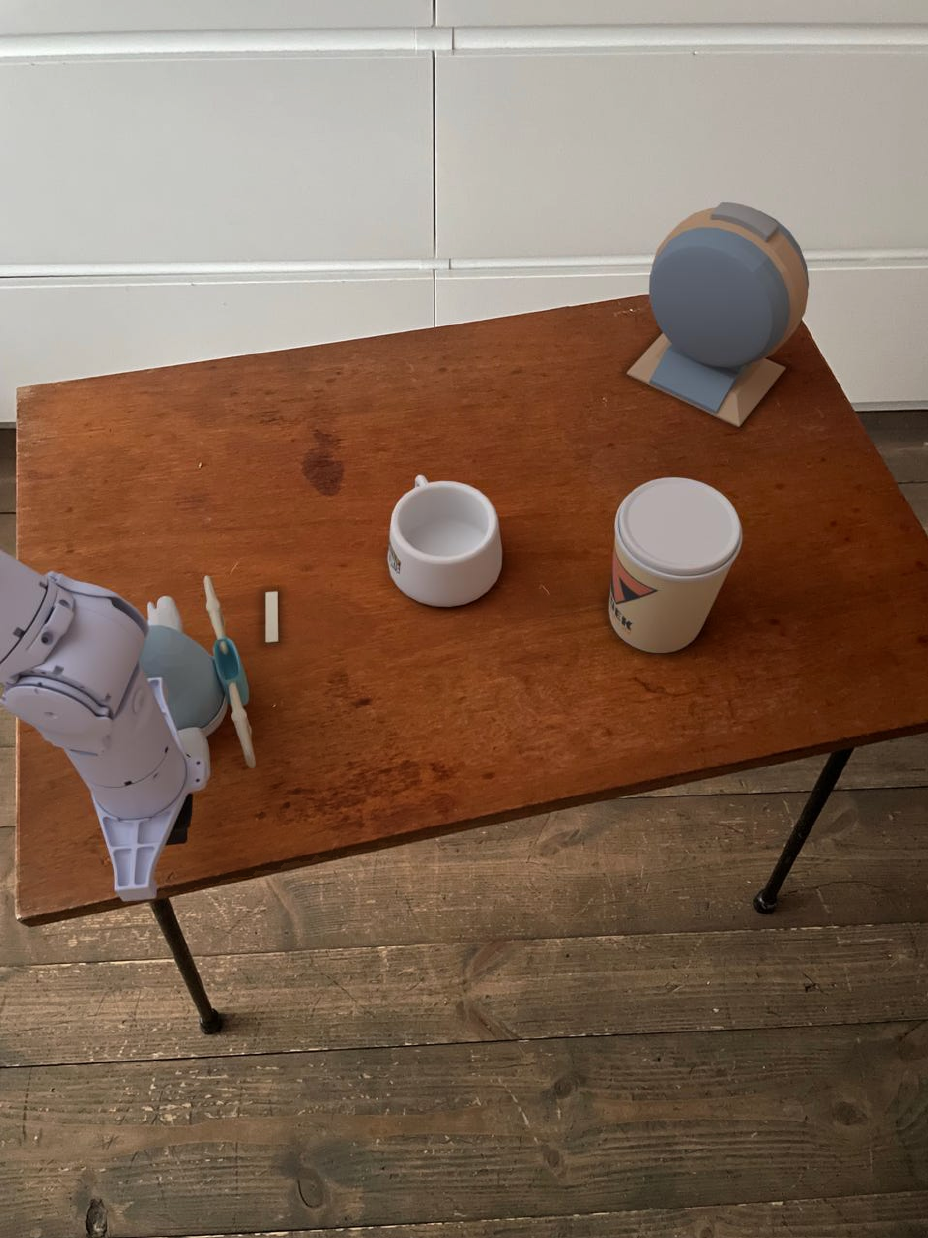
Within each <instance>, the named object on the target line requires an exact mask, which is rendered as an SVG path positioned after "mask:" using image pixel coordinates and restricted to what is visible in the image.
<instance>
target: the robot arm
mask: <svg viewBox="0 0 928 1238" xmlns="http://www.w3.org/2000/svg"><path fill="white" fill-rule="evenodd" d="M147 622H148V620H147V619H146V618H145V616H144V615H143V613H141V611H140V610H139V609H138V608H137V607H136V606H134V605H133V604H132V603H131V602H129V601H128V600H126V599H125V598H123V597H122V596H121V595H120V594H118V593H117V592H115V591H112V590H110V589H108V588H105V587H102V586H100V585H96V584H94V583H93V584H92V583H89V582H84V581H79V580H76V579H73V578H71V577H69V576H67V575H65V574H63V573H58V572H56V571H55V570H51V571H49V572H47V573H45V574H44V575H43V574H42V573H40V572H38V571H36V570H35V569H33V568H31V567H29V566H28V565H26V564H25V563H23V562H22V561H20V560H18V559H17V558H16V557H14V556H12V555H10V554H9V553H7V552H6V551H4V550H3V549H0V685H1V684H2V686H3V689H4V692H3V693H2V696H1V697H2V698H0V705H1V706H2V708H4V709H5V710H6V711H8V712H9V713H10V714H12V715H13V716H14V717H16V718H17V719H19V720H21V721H23V722H25V723H26V724H28V725H30V726H31V727H33V728H34V729H35V730H37V731H38V732H39V734H40V735H41V737H42V738H43V739H44V741H46V742H49V743H50V744H51V745H53V746H54V747H57V748H62V750H63V751H64V753H65V754H66V756H67V757H68V759H69V760H70V762H71V763H72V765H73V766H74V768H75V770H76V771H77V773H78V774H79V776H80V777H81V779H82V781H83V782H84V783H85V785H86V786H87V788H88V789H89V791H90V796H91V799H92V802H93V806H94V810H95V812H96V815H97V818H98V821H99V824H100V827H101V831H102V835H103V837H104V840H105V843H106V846H107V850H108V853H109V856H110V860H111V863H112V867H113V873H114V889H113V890H114V892H115V893H116V894H117V896H118V897H119V898H120V899H121V901H122V902H131V901H145V900H152V899H153V900H154V899H156V898H157V890H158V889H157V888H158V884H157V882H156V880H155V879H154V876H155V871H156V868H157V865H158V862H159V860H160V858H161V855H162V853H163V851H164V848H165V846H174V845H175V846H176V845H185V844H186V843H187V842H188V831H189V828H190V826H191V823H192V819H193V810H194V809H193V806H194V793H195V792H199V791H202V790H204V789H205V788H206V785H207V781H206V776H207V766H206V763H205V761H204V760H203V759H202V758H200V757H194V758H192V757H190V756H189V755H188V754H186V753H185V750H184V747H183V745H182V742H181V740H180V737H179V734H178V732H177V729H176V726H175V724H174V721H173V719H172V716H171V713H170V711H169V708H168V705H167V703H168V696H169V691H168V689H167V687H166V684H165V682H164V680H163V678H162V677H157V678H147V677H146V675H145V673H144V671H143V669H142V667H141V664H140V662H139V658H140V655H141V653H142V651H143V648H144V646H145V638H146V637H147V635H148V632H149V627H148V623H147Z"/></svg>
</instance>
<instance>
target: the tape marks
mask: <svg viewBox="0 0 928 1238" xmlns="http://www.w3.org/2000/svg"><path fill="white" fill-rule="evenodd" d="M278 594H279V591H267V592H266V591H265V643H266V644H269V643H278V642H279V595H278Z"/></svg>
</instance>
